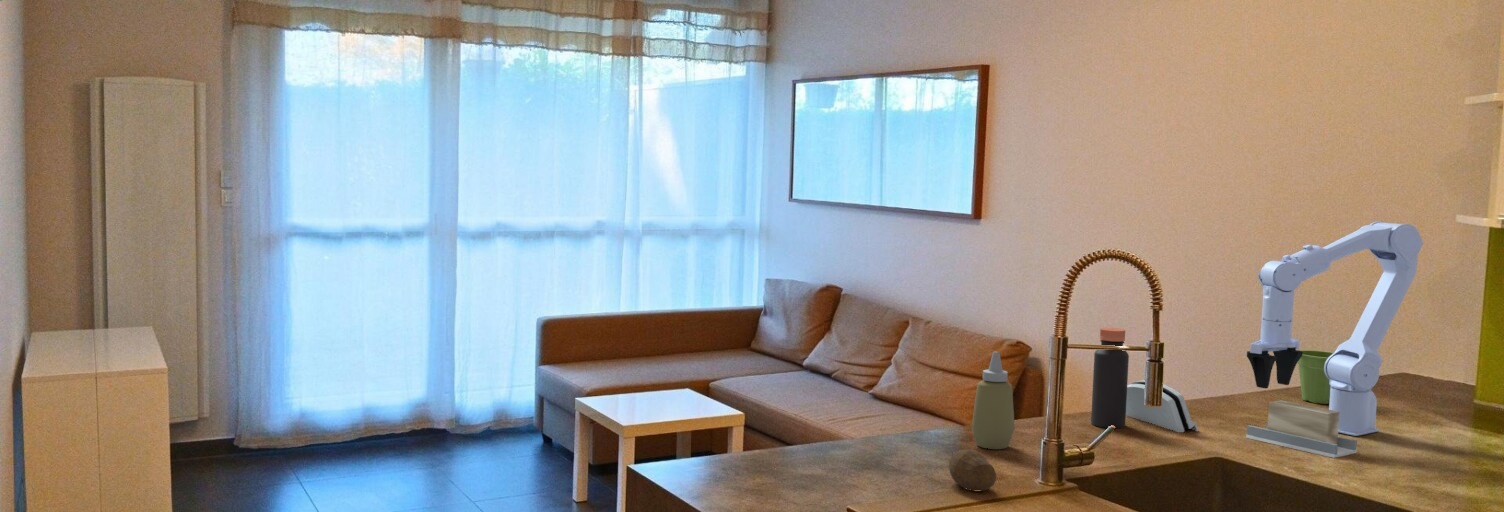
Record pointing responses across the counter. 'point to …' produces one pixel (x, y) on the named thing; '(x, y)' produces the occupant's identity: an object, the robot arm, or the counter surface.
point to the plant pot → (1314, 376)
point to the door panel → (1304, 421)
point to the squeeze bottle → (993, 408)
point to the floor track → (1303, 442)
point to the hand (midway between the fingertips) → (1272, 385)
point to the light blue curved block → (1159, 408)
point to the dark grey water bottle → (1110, 381)
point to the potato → (972, 470)
